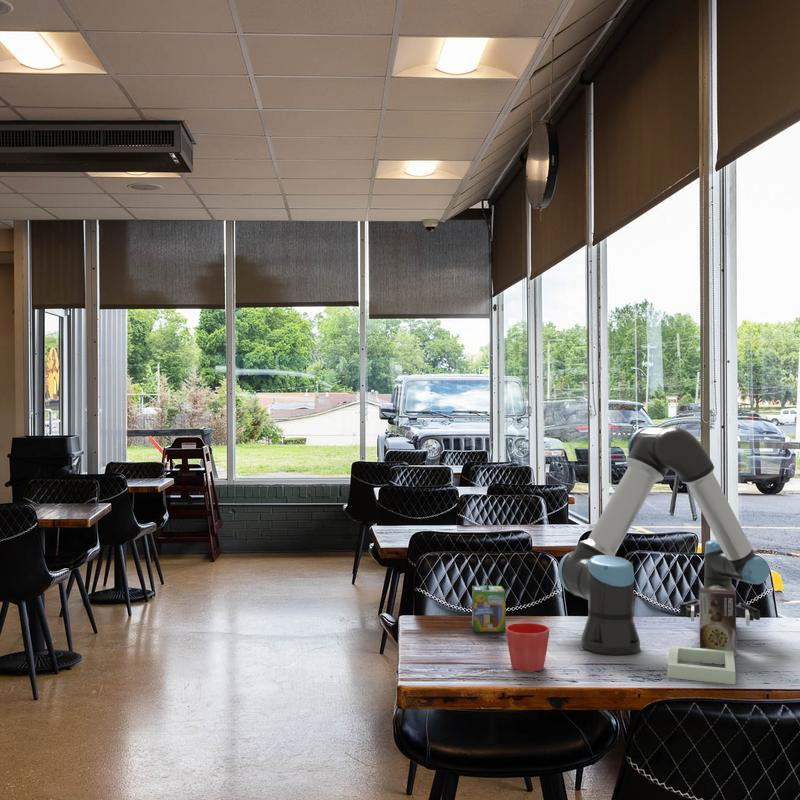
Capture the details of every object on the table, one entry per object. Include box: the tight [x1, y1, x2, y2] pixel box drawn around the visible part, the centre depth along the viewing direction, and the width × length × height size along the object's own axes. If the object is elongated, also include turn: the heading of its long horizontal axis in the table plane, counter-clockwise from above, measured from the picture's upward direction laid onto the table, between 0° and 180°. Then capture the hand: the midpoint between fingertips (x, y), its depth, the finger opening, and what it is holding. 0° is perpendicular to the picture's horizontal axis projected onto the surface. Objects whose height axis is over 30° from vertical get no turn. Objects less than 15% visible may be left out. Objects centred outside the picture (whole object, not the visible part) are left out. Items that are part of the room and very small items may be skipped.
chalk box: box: [471, 575, 507, 633], centre depth 257 cm, size 9×9×15 cm
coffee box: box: [698, 587, 737, 657], centre depth 234 cm, size 9×6×16 cm
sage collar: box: [666, 645, 736, 685], centre depth 217 cm, size 15×18×3 cm
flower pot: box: [505, 622, 551, 673], centre depth 219 cm, size 11×11×10 cm
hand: (720, 618), depth 234 cm, fingers open, 13 cm apart
